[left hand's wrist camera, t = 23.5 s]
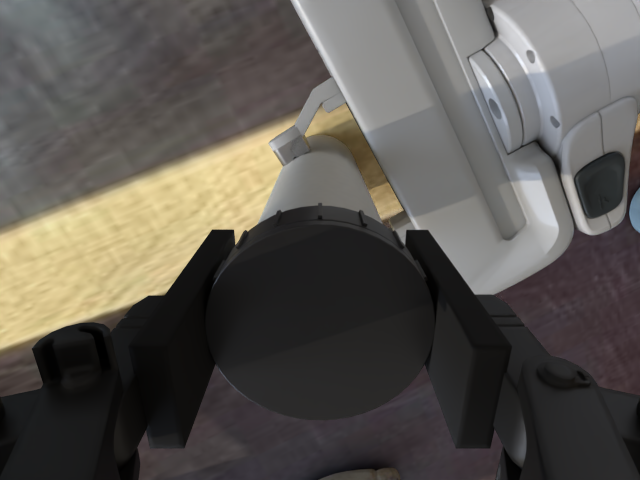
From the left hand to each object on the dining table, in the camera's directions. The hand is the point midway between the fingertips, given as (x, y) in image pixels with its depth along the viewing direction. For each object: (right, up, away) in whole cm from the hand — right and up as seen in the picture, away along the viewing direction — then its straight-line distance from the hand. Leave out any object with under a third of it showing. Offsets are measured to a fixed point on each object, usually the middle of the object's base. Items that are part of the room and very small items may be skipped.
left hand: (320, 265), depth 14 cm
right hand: (-1, +3, +9) cm, 9 cm away
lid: (0, -1, -4) cm, 4 cm away
